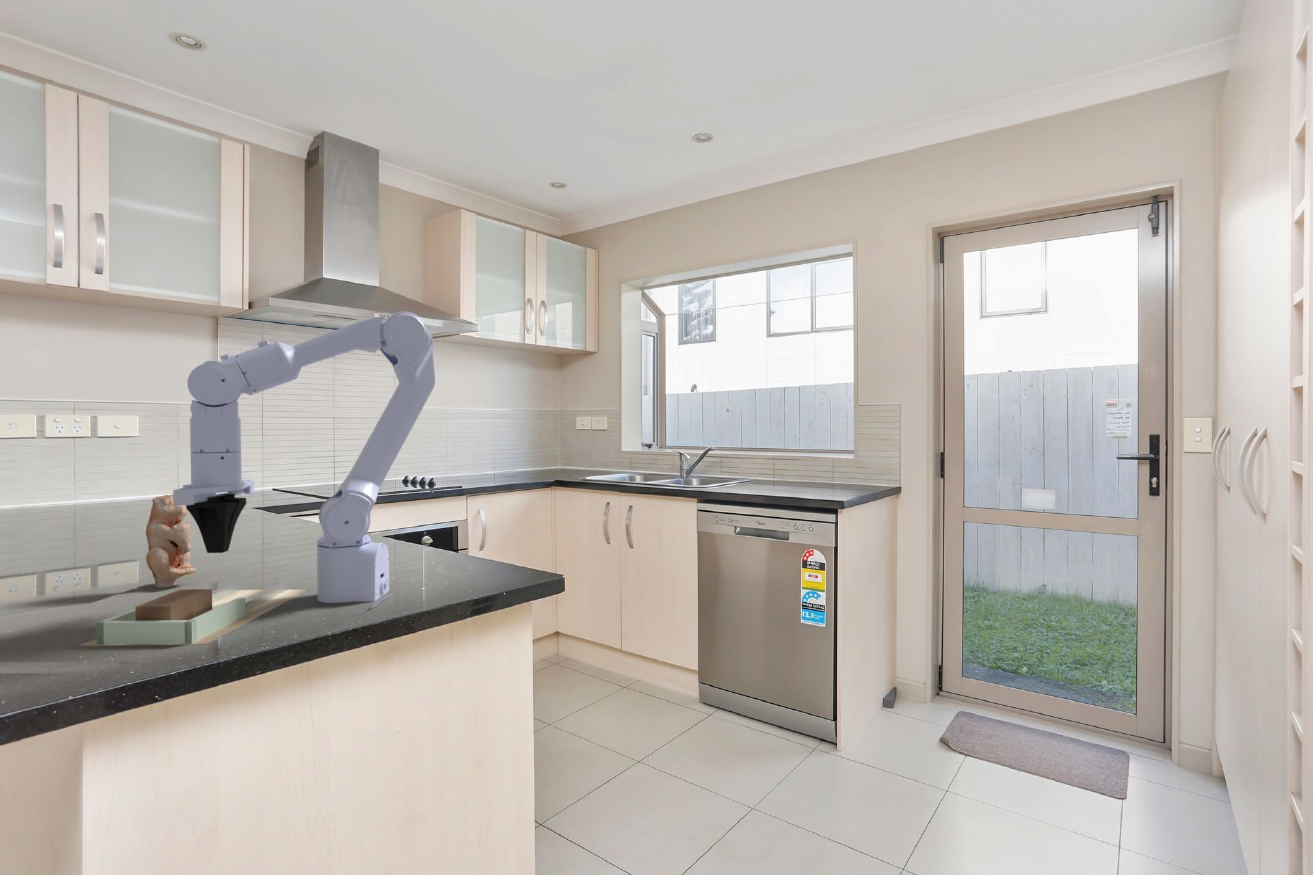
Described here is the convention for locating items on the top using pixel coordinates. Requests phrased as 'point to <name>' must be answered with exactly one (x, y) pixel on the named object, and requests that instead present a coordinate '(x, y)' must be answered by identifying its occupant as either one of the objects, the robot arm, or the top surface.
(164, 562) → the figurine
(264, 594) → the slot rails
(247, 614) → the slot board
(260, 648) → the top surface
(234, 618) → the tray
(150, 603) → the chip
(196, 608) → the brown wooden block
